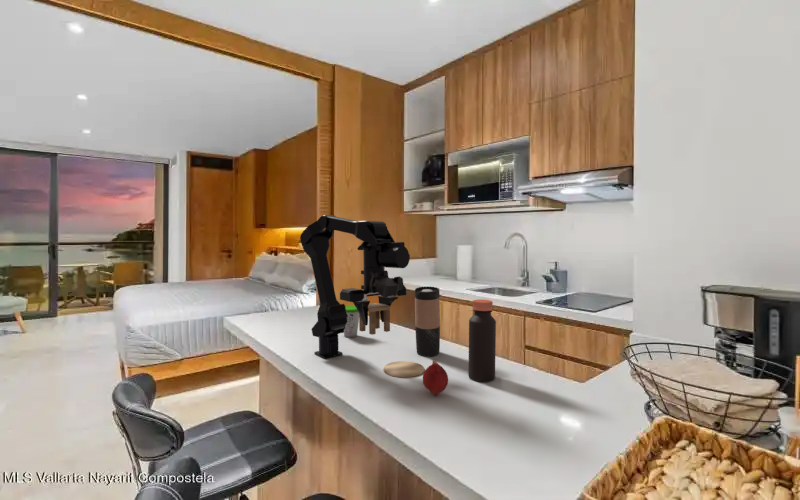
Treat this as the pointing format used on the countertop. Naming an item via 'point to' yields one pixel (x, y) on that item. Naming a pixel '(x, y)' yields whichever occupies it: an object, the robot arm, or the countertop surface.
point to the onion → (435, 378)
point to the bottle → (482, 342)
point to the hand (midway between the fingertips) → (374, 323)
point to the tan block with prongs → (376, 318)
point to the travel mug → (427, 320)
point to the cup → (351, 322)
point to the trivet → (403, 369)
